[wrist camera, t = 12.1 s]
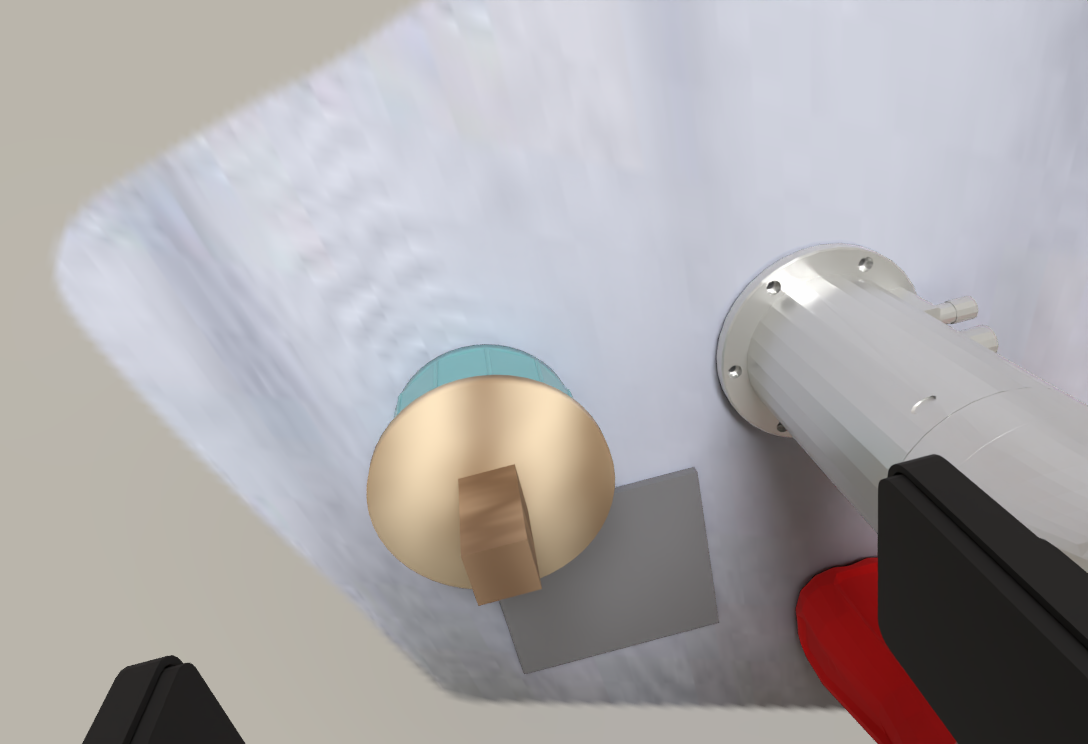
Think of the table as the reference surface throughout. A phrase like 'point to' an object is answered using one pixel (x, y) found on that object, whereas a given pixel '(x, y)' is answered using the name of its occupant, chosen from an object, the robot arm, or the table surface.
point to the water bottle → (862, 657)
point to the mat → (623, 579)
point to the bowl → (476, 370)
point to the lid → (490, 484)
